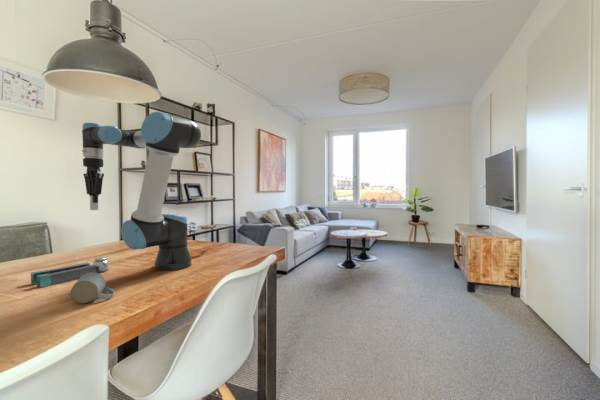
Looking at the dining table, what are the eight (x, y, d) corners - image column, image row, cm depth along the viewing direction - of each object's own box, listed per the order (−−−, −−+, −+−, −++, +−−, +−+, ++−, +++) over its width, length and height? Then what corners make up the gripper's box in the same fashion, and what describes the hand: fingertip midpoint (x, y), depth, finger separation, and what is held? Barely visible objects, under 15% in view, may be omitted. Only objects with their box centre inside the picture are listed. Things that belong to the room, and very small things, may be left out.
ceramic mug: (68, 306, 85) (68, 280, 84) (77, 296, 92) (77, 272, 92) (111, 302, 89) (111, 277, 89) (116, 293, 96) (116, 270, 96)
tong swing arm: (101, 268, 124) (101, 256, 124) (108, 270, 121) (108, 257, 121) (31, 282, 104) (30, 268, 104) (36, 285, 101) (36, 270, 101)
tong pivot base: (104, 269, 124) (103, 258, 123) (112, 271, 121) (111, 260, 120) (32, 284, 103) (32, 272, 103) (40, 287, 100) (39, 275, 100)
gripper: (76, 158, 132) (77, 209, 133) (91, 156, 125) (92, 211, 126) (94, 159, 138) (95, 208, 139) (109, 158, 132) (110, 210, 133)
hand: (94, 209), depth 133 cm, fingers closed
